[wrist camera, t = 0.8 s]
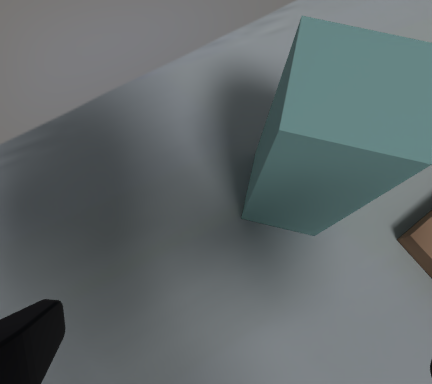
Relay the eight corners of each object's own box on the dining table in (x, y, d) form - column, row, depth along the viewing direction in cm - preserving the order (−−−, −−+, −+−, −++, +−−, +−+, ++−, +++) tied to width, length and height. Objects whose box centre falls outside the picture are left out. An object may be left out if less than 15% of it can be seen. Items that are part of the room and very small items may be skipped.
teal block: (323, 168, 24) (435, 43, 12) (314, 236, 22) (431, 164, 11) (255, 152, 24) (301, 15, 12) (241, 218, 22) (279, 130, 11)
